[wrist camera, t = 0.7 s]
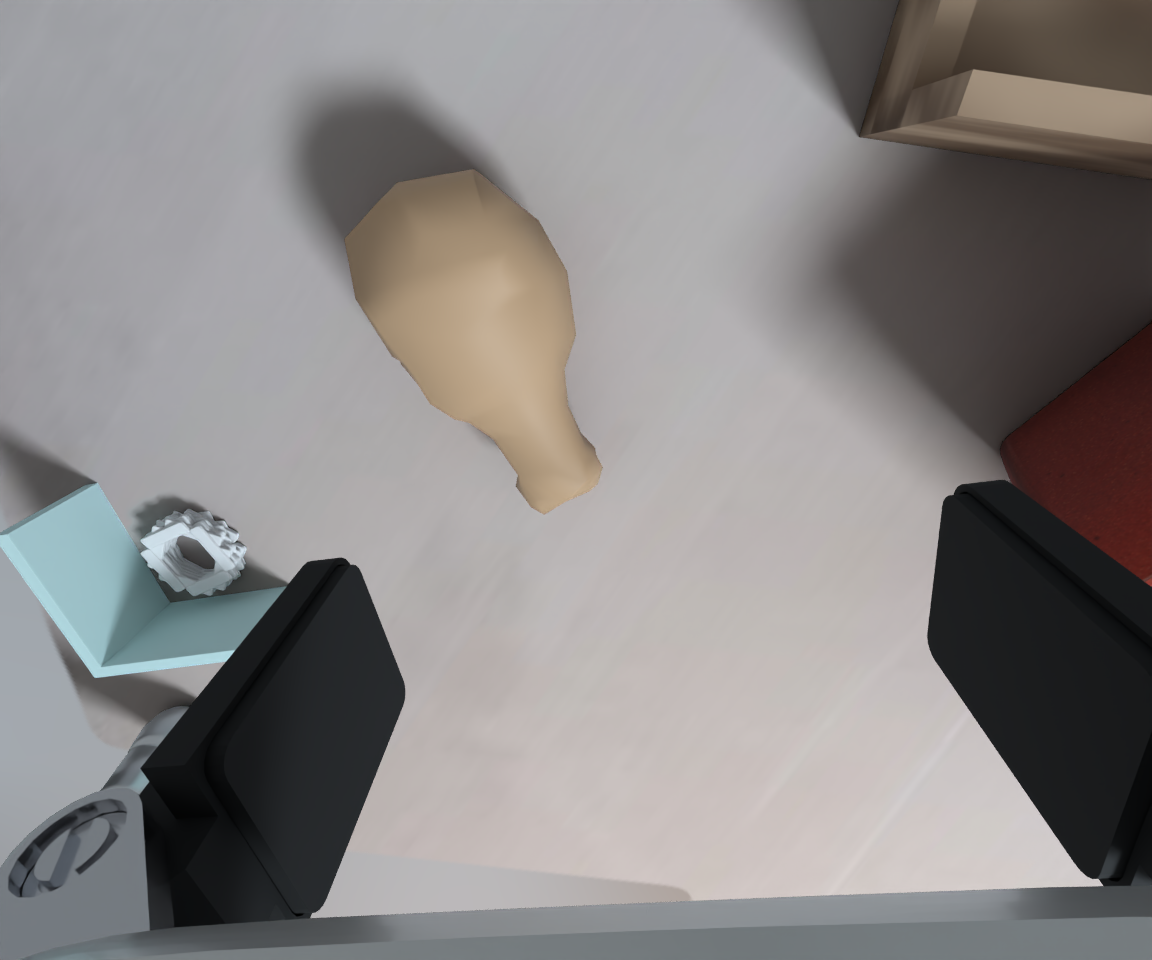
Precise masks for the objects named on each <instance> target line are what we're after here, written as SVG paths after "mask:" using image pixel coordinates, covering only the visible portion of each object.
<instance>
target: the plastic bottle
mask: <svg viewBox="0 0 1152 960" xmlns="http://www.w3.org/2000/svg"><path fill="white" fill-rule="evenodd" d="M188 708H189V706H177V707H173V708H170V709H167V710H165V711H163V712H160V713H159V714H158V715H157V716H156V717H155V718H153V719H152V720H151V721H150V722H149V723H148V724H146V725H145V726H144V727H143V729H142V730H141V732H140V733H139V735H138V736H137V738H136V739H135V741H134V742H133V744H132V746H131V748H130V749H129V751H128V754H127V755H126V757H125V758H124V759H123V761H122V762H121V764H120V765H119V766H118V767H117V769H116V770H115V772H114V773H113V774H112V776H111V777H110V778H109V780H108V781H107V783H106V784H105V785H104V787H103V788H102V789H101V790H100V791H103V790H107V789H110V788H129V789H131V790H133V791H135V792H137V793H138V794H140V793H141V792H142V790H143V789H144V788H145V787H146V785H147V784H148V783H149V780H148V779H147V778H146V776H145V775H144V773H143V772H142V771H141V769H140V768H141V767H142V765H143V764H144V763H145V762H146V760H147V759H148V758H149V757H150V755H151V754H152V753H153V752H154V750H155V749H156V748H157V747H158V745H159V744H160V743H161V742H162V741H163V739H164V738H165V737H166V736H167V734H168V733H169V732H170V731H171V729H172V728H173V727H174V726H175V724H176V723H177V722H178V721H179V719H180V718H181V717H182V716H183V714H184V713H185V712H186V711H187V710H188Z"/></svg>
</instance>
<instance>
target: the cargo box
mask: <svg viewBox="0 0 1152 960" xmlns="http://www.w3.org/2000/svg"><path fill="white" fill-rule="evenodd" d="M859 137H863V138H870V139H877V140H883V141H890V142H897V143H904V144H911V145H918V146H925V147H931V148H938V149H945V150H952V151H959V152H966V153H973V154H979V155H986V156H993V157H1000V158H1007V159H1014V160H1021V161H1028V162H1034V163H1041V164H1048V165H1055V166H1062V167H1069V168H1076V169H1082V170H1089V171H1096V172H1103V173H1110V174H1117V175H1124V176H1130V177H1137V178H1144V179H1151V180H1152V0H899V3H898V7H897V10H896V13H895V17H894V20H893V24H892V27H891V30H890V34H889V37H888V40H887V44H886V47H885V51H884V54H883V57H882V61H881V64H880V68H879V71H878V74H877V78H876V81H875V84H874V88H873V91H872V95H871V98H870V101H869V105H868V108H867V111H866V115H865V118H864V122H863V125H862V128H861V132H860V135H859Z"/></svg>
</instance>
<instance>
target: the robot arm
mask: <svg viewBox="0 0 1152 960" xmlns="http://www.w3.org/2000/svg"><path fill="white" fill-rule="evenodd" d="M927 638H928V645H929V648H930V651H931V654H932V656H933V658H934V660H935V661H936V663H937V664H938V666H939V667H940V668H941V670H942V671H943V673H944V674H945V676H946V677H947V679H948V680H949V681H950V683H951V684H952V686H953V687H954V689H955V690H956V692H957V693H958V695H959V696H960V697H961V699H962V700H963V702H964V703H965V705H966V706H967V708H968V709H969V711H970V712H971V713H972V715H973V716H974V718H975V719H976V721H977V722H978V724H979V725H980V727H981V728H982V729H983V731H984V732H985V734H986V735H987V737H988V738H989V740H990V741H991V743H992V744H993V745H994V747H995V748H996V750H997V751H998V753H999V754H1000V756H1001V757H1002V759H1003V760H1004V761H1005V763H1006V764H1007V766H1008V767H1009V769H1010V770H1011V772H1012V773H1013V774H1014V776H1015V777H1016V779H1017V780H1018V782H1019V783H1020V785H1021V786H1022V788H1023V789H1024V790H1025V792H1026V793H1027V795H1028V796H1029V798H1030V799H1031V801H1032V802H1033V804H1034V805H1035V806H1036V808H1037V809H1038V811H1039V812H1040V814H1041V815H1042V817H1043V818H1044V820H1045V821H1046V822H1047V824H1048V825H1049V827H1050V828H1051V830H1052V831H1053V833H1054V834H1055V836H1056V837H1057V838H1058V840H1059V841H1060V843H1061V844H1062V846H1063V847H1064V849H1065V850H1066V852H1067V853H1068V854H1069V856H1070V857H1071V859H1072V860H1073V862H1074V863H1075V864H1076V866H1077V867H1078V868H1079V869H1080V871H1081V872H1083V873H1084V874H1085V875H1086V876H1087V877H1090V878H1092V879H1099V880H1100V882H1101V883H1102V884H1103V886H1098V887H1048V888H1021V889H993V890H966V891H939V892H911V893H884V894H857V895H829V896H802V897H777V898H753V899H729V900H704V901H680V902H656V903H634V904H611V905H588V906H587V905H586V906H563V907H540V908H517V909H497V910H496V909H495V910H475V911H454V912H433V913H413V914H394V915H393V914H392V915H371V916H351V917H330V918H310V917H311V914H312V913H314V912H317V911H318V910H319V909H320V908H321V907H322V906H323V904H324V902H325V900H326V898H327V896H328V893H329V891H330V888H331V886H332V883H333V881H334V878H335V876H336V873H337V871H338V868H339V866H340V863H341V861H342V858H343V856H344V853H345V851H346V848H347V846H348V843H349V841H350V838H351V836H352V833H353V831H354V828H355V825H356V823H357V820H358V818H359V815H360V813H361V810H362V808H363V805H364V803H365V800H366V798H367V795H368V793H369V790H370V788H371V785H372V783H373V780H374V778H375V775H376V773H377V770H378V767H379V765H380V762H381V760H382V757H383V755H384V752H385V750H386V747H387V745H388V742H389V740H390V737H391V735H392V732H393V730H394V727H395V725H396V722H397V720H398V717H399V715H400V712H401V710H402V707H403V704H404V700H405V685H404V681H403V678H402V676H401V673H400V671H399V668H398V665H397V663H396V660H395V658H394V655H393V653H392V650H391V648H390V645H389V642H388V640H387V637H386V635H385V632H384V630H383V627H382V625H381V622H380V619H379V617H378V614H377V612H376V609H375V607H374V604H373V602H372V599H371V596H370V594H369V591H368V589H367V586H366V584H365V581H364V579H363V576H362V573H361V571H360V569H359V568H358V567H357V566H356V565H350V563H349V562H348V561H347V560H346V559H344V558H334V559H325V560H317V561H310V562H307V563H306V564H305V565H304V566H303V567H302V568H301V569H300V571H299V572H298V573H297V574H296V576H295V577H294V578H293V579H292V580H291V582H290V583H289V584H288V585H287V587H286V588H285V589H284V590H283V592H282V593H281V594H280V595H279V597H278V598H277V599H276V600H275V602H274V603H273V604H272V605H271V607H270V608H269V609H268V610H267V612H266V613H265V614H264V615H263V616H262V618H261V619H260V620H259V621H258V623H257V624H256V625H255V626H254V628H253V629H252V630H251V631H250V633H249V634H248V635H247V636H246V638H245V639H244V640H243V641H242V643H241V644H240V645H239V646H238V647H237V649H236V650H235V651H234V652H233V654H232V655H231V656H230V657H229V659H228V660H227V661H226V662H225V664H224V665H223V666H222V667H221V669H220V670H219V671H218V672H217V674H216V675H215V676H214V677H213V679H212V680H211V681H210V682H209V683H208V685H207V686H206V687H205V688H204V690H203V691H202V692H201V693H200V695H199V696H198V697H197V698H196V700H195V701H194V702H193V703H192V705H191V706H190V707H189V708H188V710H187V711H186V712H185V713H184V714H183V716H182V717H181V718H180V719H179V721H178V722H177V723H176V724H175V726H174V727H173V728H172V729H171V731H170V732H169V733H168V734H167V736H166V737H165V738H164V739H163V741H162V742H161V743H160V744H159V745H158V747H157V748H156V749H155V750H154V752H153V753H152V754H151V755H150V757H149V758H148V759H147V760H146V762H145V763H144V764H143V765H142V767H141V768H140V769H141V771H142V772H143V773H144V775H145V776H146V778H147V779H148V780H149V783H148V784H147V785H146V787H145V788H144V789H143V790H142V792H141V793H140V794H138V793H137V792H135V791H133V790H131V789H129V788H110V789H107V790H103V791H99V792H95V793H93V794H90V795H88V796H86V797H84V798H82V799H79V800H77V801H75V802H73V803H71V804H70V805H68V806H66V807H65V808H63V809H62V810H60V811H58V812H57V813H55V814H54V815H52V816H51V817H49V818H48V819H47V820H46V821H44V822H43V823H42V824H41V825H39V826H38V827H37V828H36V829H34V830H33V831H32V832H31V833H29V835H27V837H26V838H25V839H24V840H23V841H22V842H21V843H20V844H19V845H18V846H17V847H16V848H15V849H14V850H13V851H12V852H11V853H10V855H9V856H8V858H7V859H6V860H5V862H4V863H3V865H2V866H1V868H0V960H1152V587H1151V586H1150V585H1148V584H1147V583H1145V582H1144V581H1143V580H1141V579H1140V578H1139V577H1137V576H1136V575H1135V574H1133V573H1132V572H1131V571H1129V570H1128V569H1127V568H1125V567H1124V566H1122V565H1121V564H1120V563H1118V562H1117V561H1116V560H1114V559H1113V558H1112V557H1110V556H1109V555H1108V554H1106V553H1105V552H1103V551H1102V550H1101V549H1099V548H1098V547H1097V546H1095V545H1094V544H1093V543H1091V542H1090V541H1089V540H1087V539H1086V538H1085V537H1083V536H1082V535H1080V534H1079V533H1078V532H1076V531H1075V530H1074V529H1072V528H1071V527H1070V526H1068V525H1067V524H1066V523H1064V522H1063V521H1061V520H1060V519H1059V518H1057V517H1056V516H1055V515H1053V514H1052V513H1051V512H1049V511H1048V510H1047V509H1045V508H1044V507H1042V506H1041V505H1040V504H1038V503H1037V502H1036V501H1034V500H1033V499H1032V498H1030V497H1029V496H1028V495H1026V494H1025V493H1024V492H1022V491H1021V490H1019V489H1018V488H1017V487H1015V486H1014V485H1013V484H1011V483H1010V482H1008V481H1006V480H996V481H987V482H979V483H970V484H962V485H960V486H958V487H957V489H956V490H955V492H954V495H950V496H947V497H946V498H945V500H944V501H943V506H942V514H941V522H940V531H939V539H938V548H937V556H936V565H935V573H934V582H933V591H932V599H931V608H930V616H929V625H928V635H927Z"/></svg>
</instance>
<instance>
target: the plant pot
mask: <svg viewBox="0 0 1152 960" xmlns="http://www.w3.org/2000/svg"><path fill="white" fill-rule="evenodd" d="M1000 454H1001V457H1002V460H1003V463H1004V466H1005V468H1006V471H1007V473H1008V476H1009V478H1010V480H1011V482H1012V484H1013V485H1014V486H1015V487H1017V488H1018V489H1019V490H1021V491H1022V492H1024V493H1025V494H1026V495H1028V496H1029V497H1030V498H1032V499H1033V500H1034V501H1036V502H1037V503H1038V504H1040V505H1041V506H1042V507H1044V508H1045V509H1047V510H1048V511H1049V512H1051V513H1052V514H1053V515H1055V516H1056V517H1057V518H1059V519H1060V520H1061V521H1063V522H1064V523H1066V524H1067V525H1068V526H1070V527H1071V528H1072V529H1074V530H1075V531H1076V532H1078V533H1079V534H1080V535H1082V536H1083V537H1085V538H1086V539H1087V540H1089V541H1090V542H1091V543H1093V544H1094V545H1095V546H1097V547H1098V548H1099V549H1101V550H1102V551H1103V552H1105V553H1106V554H1108V555H1109V556H1110V557H1112V558H1113V559H1114V560H1116V561H1117V562H1118V563H1120V564H1121V565H1122V566H1124V567H1125V568H1127V569H1128V570H1129V571H1131V572H1132V573H1133V574H1135V575H1136V576H1137V577H1139V578H1140V579H1141V580H1143V581H1144V582H1145V583H1147V584H1148V585H1150V586H1151V587H1152V323H1151V324H1149V325H1148V326H1147V327H1145V328H1144V329H1143V330H1142V331H1141V332H1139V333H1138V334H1137V335H1136V336H1134V337H1133V338H1132V339H1130V340H1129V341H1128V342H1127V343H1125V344H1124V345H1123V346H1122V347H1120V348H1119V349H1118V350H1117V351H1115V352H1114V353H1113V354H1112V355H1110V356H1109V357H1108V358H1107V359H1105V360H1104V361H1103V362H1101V363H1100V364H1099V365H1098V366H1096V367H1095V368H1094V369H1092V370H1091V371H1090V372H1089V373H1087V374H1086V375H1085V376H1084V377H1082V378H1081V379H1080V380H1079V381H1077V382H1076V383H1075V384H1074V385H1072V386H1071V387H1070V388H1069V389H1067V390H1066V391H1065V392H1064V393H1062V394H1061V395H1060V396H1059V397H1057V398H1056V399H1055V400H1054V401H1052V402H1051V403H1050V404H1048V405H1047V406H1046V407H1044V408H1043V409H1042V410H1041V411H1039V412H1038V413H1037V414H1036V415H1034V416H1033V417H1032V418H1031V419H1029V420H1028V421H1027V422H1026V423H1024V424H1023V425H1022V426H1021V427H1019V428H1018V429H1017V430H1015V431H1014V432H1013V433H1012V434H1010V435H1009V436H1008V437H1007V438H1006V439H1005V440H1004V441H1003V443H1002V445H1001V448H1000Z"/></svg>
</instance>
